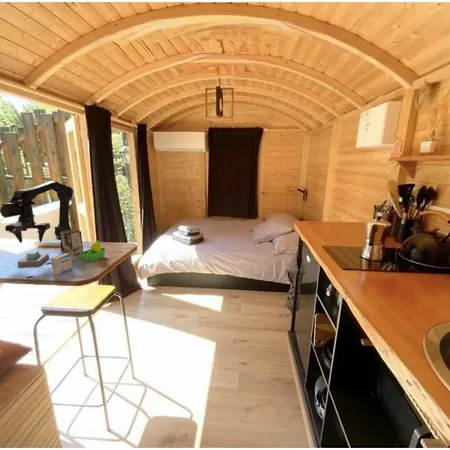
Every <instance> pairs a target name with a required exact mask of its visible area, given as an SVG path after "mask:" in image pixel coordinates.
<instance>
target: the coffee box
mask: <svg viewBox="0 0 450 450" xmlns="http://www.w3.org/2000/svg"><path fill="white" fill-rule="evenodd" d="M82 236H83V235H82V231H81V230H78V229H77V230H76V229H73V228H71V229H70V230H66V231H62V232H61V239H62V245H63V251H62V252H63V253H68V254H70V255H71V262H72V261H73V262H77V261H79V260H82V259H84V258H83V256H82V254H81V252H84V244H83V237H82Z"/></svg>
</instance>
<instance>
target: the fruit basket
mask: <svg viewBox="0 0 450 450" xmlns="http://www.w3.org/2000/svg"><path fill="white" fill-rule="evenodd" d="M106 250H107V248H104V247H102V244H101V240H96V241H94V242H93V243H92V244H91V245H90V249H87V250H83V252H81V254H82V256H83V258H82V259H83V260H84V262H90V263H93V262H96V261H97V260H100V259H102V258H104V257H105V253H106Z"/></svg>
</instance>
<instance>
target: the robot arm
mask: <svg viewBox="0 0 450 450" xmlns="http://www.w3.org/2000/svg"><path fill="white" fill-rule="evenodd" d="M73 189H74V188H72V187H71V186H67V185H65V184H63V183H60V182H58V181H55V180H49V181H47V182H45V183H41V184H39V185H35V186H33V187H30V188H22V189H16V190H14V192H13V195H12V197H11V199H10V201H9V203H2V204H1V205H2V206H1V207H0V215H1V216H2V217H3V218H6V219H7V218H12V217H18V220H17V221H16V222H15V223H10V224H7V225H6V226H5V227H4V228H5V229H4V230H5V232H8V233H11V234H12V235H14V236H15V237H16V239H17V240H18V242H19V243H20V244H21V243H23V234H22V233H23V232H26V231H28V229H36V230H37V233H38V242H39V243H41V242H42V241H43V238H44V235H45V233H46V231H47V230H49V229H51V227H52V226H51V224H50V223H49V222H41V223H38V224H37V223H36V221H35V216H36V215H35V214H34V210H33V205H36V202H35V201H33V200H34V199H36V197H37V196H39V195H41V194H44V193H46V192H49V191H54V192H56V196H57V198H58V200H59V213H58V215H59V216H58V217H59V218H58V221H59V222H58V225H57V226H54V233H53V234H55V237H56V238H57V239H58V241H60V242H59V245H60V251H62V252H63V245H62V239H61V232H62V231H66V230H70V229H72V228H71V226H70V224H69V223H70V222H69V221H70V220H69V219H70V201H71V200H72V198H73V195H74V190H73Z"/></svg>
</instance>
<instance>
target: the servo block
mask: <svg viewBox="0 0 450 450" xmlns="http://www.w3.org/2000/svg"><path fill="white" fill-rule="evenodd" d="M40 254H41V253H40V251H39V250H30V251H29V252H27V253H26V256H27V259H26V260H34V259H38V258H39V257H40Z"/></svg>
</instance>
